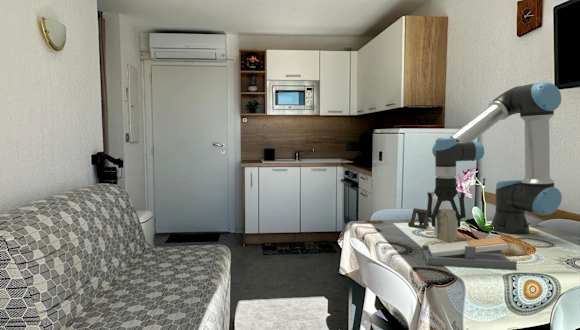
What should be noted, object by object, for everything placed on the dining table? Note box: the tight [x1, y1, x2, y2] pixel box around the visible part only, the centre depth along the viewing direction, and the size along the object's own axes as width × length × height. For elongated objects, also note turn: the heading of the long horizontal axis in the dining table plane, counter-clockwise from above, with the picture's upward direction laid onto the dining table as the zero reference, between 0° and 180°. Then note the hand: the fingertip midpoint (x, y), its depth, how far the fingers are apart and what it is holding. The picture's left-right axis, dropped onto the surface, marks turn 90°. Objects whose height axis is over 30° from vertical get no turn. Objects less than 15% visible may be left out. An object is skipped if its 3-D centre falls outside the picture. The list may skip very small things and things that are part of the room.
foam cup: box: [430, 194, 449, 223], centre depth 190 cm, size 10×9×13 cm
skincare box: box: [435, 208, 456, 243], centre depth 146 cm, size 6×4×12 cm
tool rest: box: [502, 242, 528, 256], centre depth 139 cm, size 12×12×2 cm
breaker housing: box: [421, 236, 517, 270], centre depth 130 cm, size 27×15×6 cm, turn 78°
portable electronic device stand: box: [407, 207, 432, 230], centre depth 179 cm, size 9×8×8 cm
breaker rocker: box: [427, 236, 508, 257], centre depth 129 cm, size 24×9×2 cm, turn 78°
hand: (445, 234), depth 146 cm, fingers closed on skincare box, 7 cm apart
